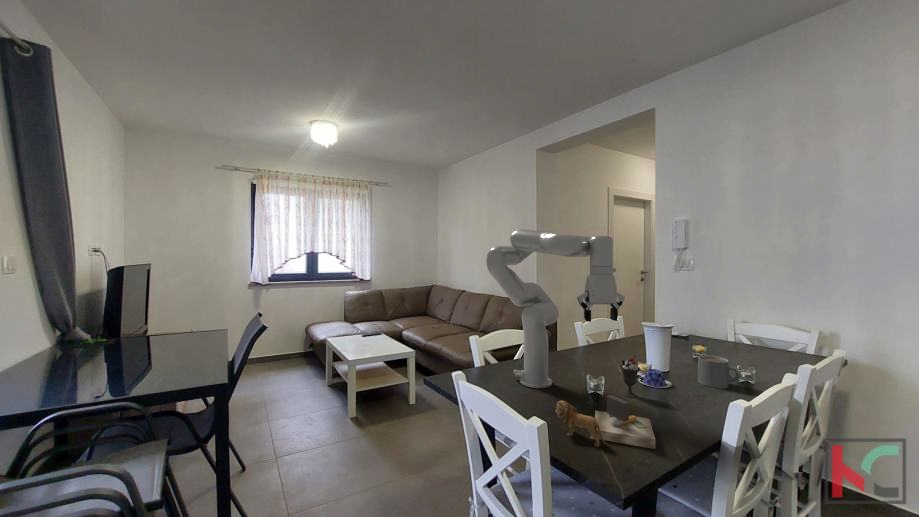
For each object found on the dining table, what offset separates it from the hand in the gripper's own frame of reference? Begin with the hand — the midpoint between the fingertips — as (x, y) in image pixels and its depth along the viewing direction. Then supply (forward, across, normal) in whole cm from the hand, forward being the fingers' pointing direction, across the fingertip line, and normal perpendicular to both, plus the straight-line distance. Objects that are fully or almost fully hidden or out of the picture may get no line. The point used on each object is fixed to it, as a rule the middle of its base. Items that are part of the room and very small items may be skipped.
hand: (600, 320), depth 125 cm
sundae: (+28, -14, -4) cm, 32 cm away
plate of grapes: (+29, -31, -14) cm, 44 cm away
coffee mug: (+28, -54, -8) cm, 62 cm away
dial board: (+28, +5, +21) cm, 36 cm away
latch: (+26, +4, +21) cm, 33 cm away
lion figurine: (+29, +19, +22) cm, 41 cm away
